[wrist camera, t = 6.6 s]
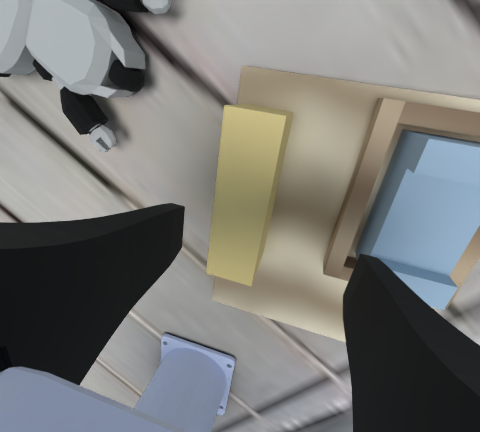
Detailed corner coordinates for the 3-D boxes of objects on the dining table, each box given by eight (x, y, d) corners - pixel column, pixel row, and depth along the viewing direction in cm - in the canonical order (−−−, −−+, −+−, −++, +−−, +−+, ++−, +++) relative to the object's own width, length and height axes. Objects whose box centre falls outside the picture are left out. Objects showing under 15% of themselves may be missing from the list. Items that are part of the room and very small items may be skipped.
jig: (398, 349, 21) (407, 378, 19) (215, 292, 24) (205, 312, 22) (537, 109, 14) (579, 111, 12) (246, 67, 16) (234, 62, 14)
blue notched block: (402, 129, 15) (428, 138, 11) (484, 142, 14) (539, 158, 10) (354, 251, 18) (363, 288, 15) (418, 267, 17) (443, 310, 14)
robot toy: (202, -7, 16) (-20, -179, 15) (170, -37, 12) (-135, -274, 11) (131, 155, 22) (-35, 40, 21) (93, 170, 18) (-115, 29, 17)
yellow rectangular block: (263, 253, 20) (251, 286, 17) (225, 243, 21) (205, 273, 17) (293, 112, 16) (286, 116, 12) (244, 103, 16) (224, 105, 13)
